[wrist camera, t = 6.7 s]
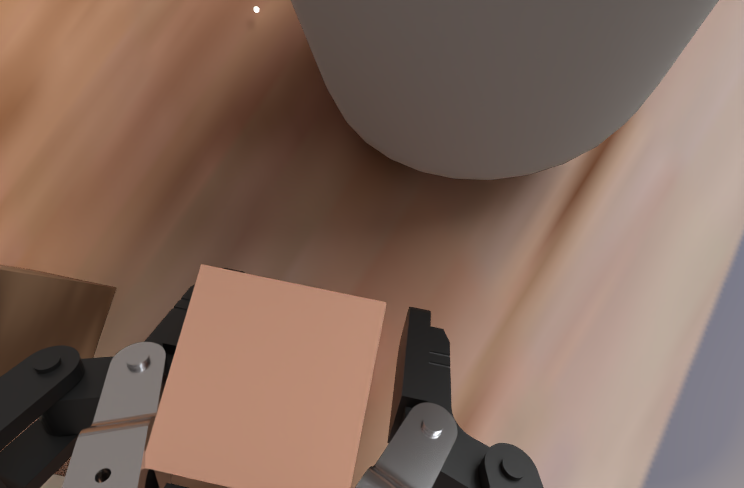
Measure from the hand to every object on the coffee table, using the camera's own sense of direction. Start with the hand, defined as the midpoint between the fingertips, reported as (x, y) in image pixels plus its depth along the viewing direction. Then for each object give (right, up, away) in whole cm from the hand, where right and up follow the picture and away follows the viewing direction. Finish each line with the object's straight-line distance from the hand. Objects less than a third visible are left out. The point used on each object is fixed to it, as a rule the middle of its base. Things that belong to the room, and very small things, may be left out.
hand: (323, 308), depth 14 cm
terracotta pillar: (0, -3, +4) cm, 5 cm away
